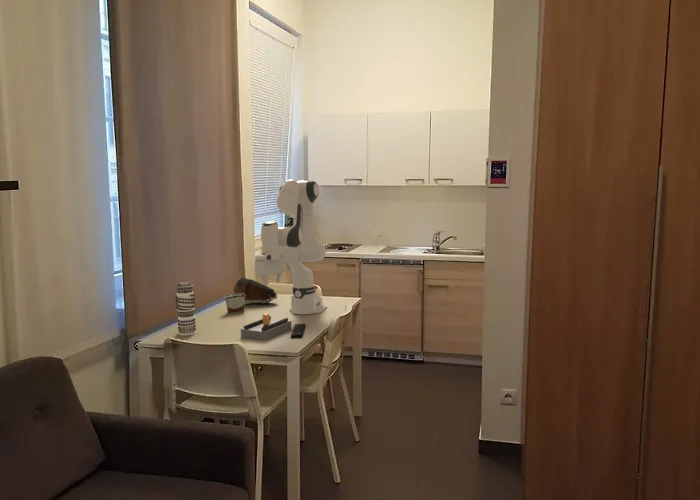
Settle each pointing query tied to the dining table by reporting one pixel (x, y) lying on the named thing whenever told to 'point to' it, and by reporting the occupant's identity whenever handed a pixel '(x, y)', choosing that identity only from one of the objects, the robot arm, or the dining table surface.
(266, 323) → the lever
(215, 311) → the dining table surface
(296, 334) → the remote control
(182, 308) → the decorative candle
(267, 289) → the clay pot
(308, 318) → the dining table surface
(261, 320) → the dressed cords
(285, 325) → the tray
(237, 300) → the food container
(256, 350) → the dining table surface
